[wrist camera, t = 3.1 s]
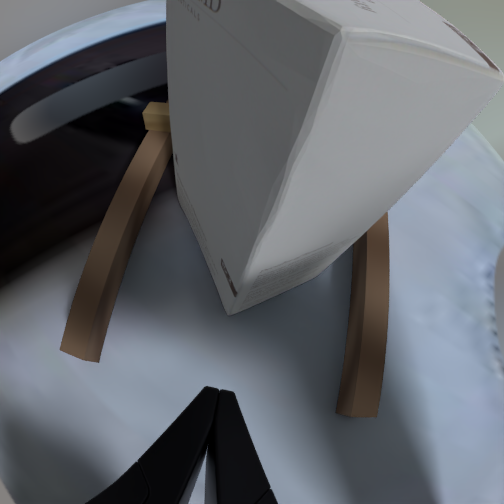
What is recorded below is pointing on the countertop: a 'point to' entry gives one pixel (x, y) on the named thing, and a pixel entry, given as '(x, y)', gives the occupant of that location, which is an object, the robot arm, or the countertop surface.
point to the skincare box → (308, 126)
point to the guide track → (124, 236)
